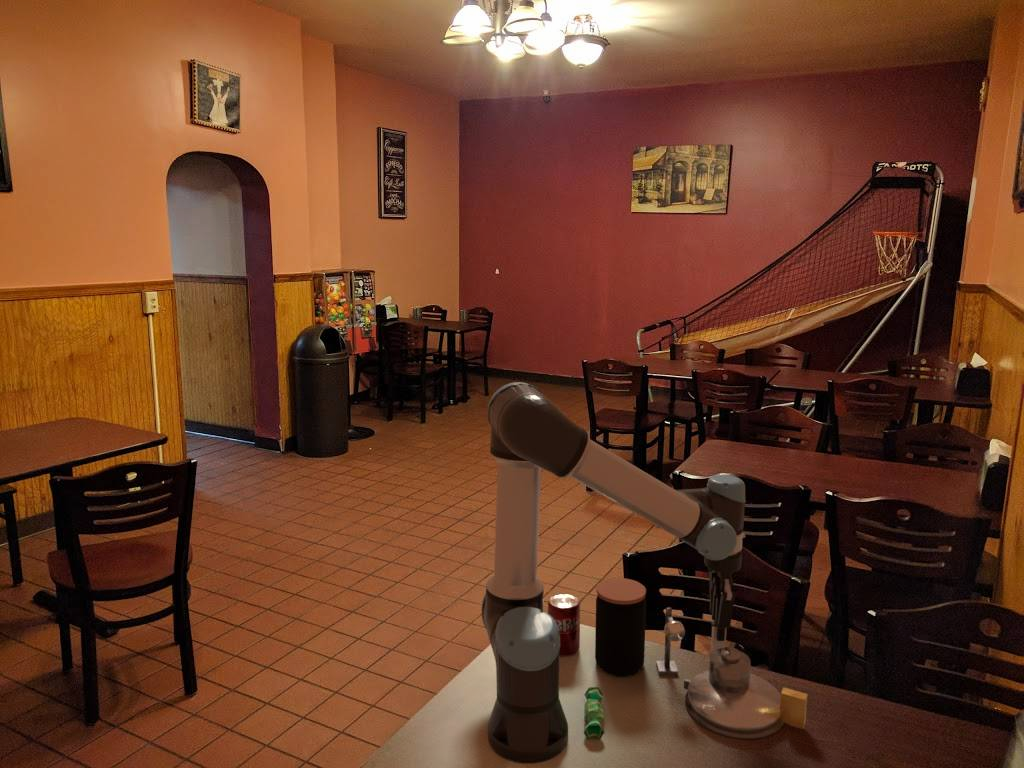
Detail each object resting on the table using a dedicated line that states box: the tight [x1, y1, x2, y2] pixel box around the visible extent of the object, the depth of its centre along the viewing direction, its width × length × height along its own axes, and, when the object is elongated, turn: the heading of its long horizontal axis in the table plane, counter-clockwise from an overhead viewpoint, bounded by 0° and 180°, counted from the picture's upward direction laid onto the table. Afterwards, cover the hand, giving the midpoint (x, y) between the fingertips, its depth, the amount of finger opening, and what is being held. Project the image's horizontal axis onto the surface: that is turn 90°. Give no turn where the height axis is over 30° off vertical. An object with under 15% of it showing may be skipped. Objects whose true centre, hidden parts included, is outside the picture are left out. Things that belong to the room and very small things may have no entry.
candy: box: [583, 686, 605, 740], centre depth 144 cm, size 12×3×4 cm
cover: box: [708, 646, 752, 693], centre depth 150 cm, size 8×8×7 cm
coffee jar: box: [594, 577, 647, 678], centre depth 161 cm, size 11×11×18 cm
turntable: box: [683, 669, 809, 733], centre depth 146 cm, size 21×18×6 cm
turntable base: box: [684, 690, 785, 741], centre depth 147 cm, size 19×19×1 cm
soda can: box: [547, 593, 581, 658], centre depth 167 cm, size 7×7×12 cm
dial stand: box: [655, 606, 686, 677], centre depth 156 cm, size 4×9×15 cm, turn 178°
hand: (718, 650), depth 159 cm, fingers closed
